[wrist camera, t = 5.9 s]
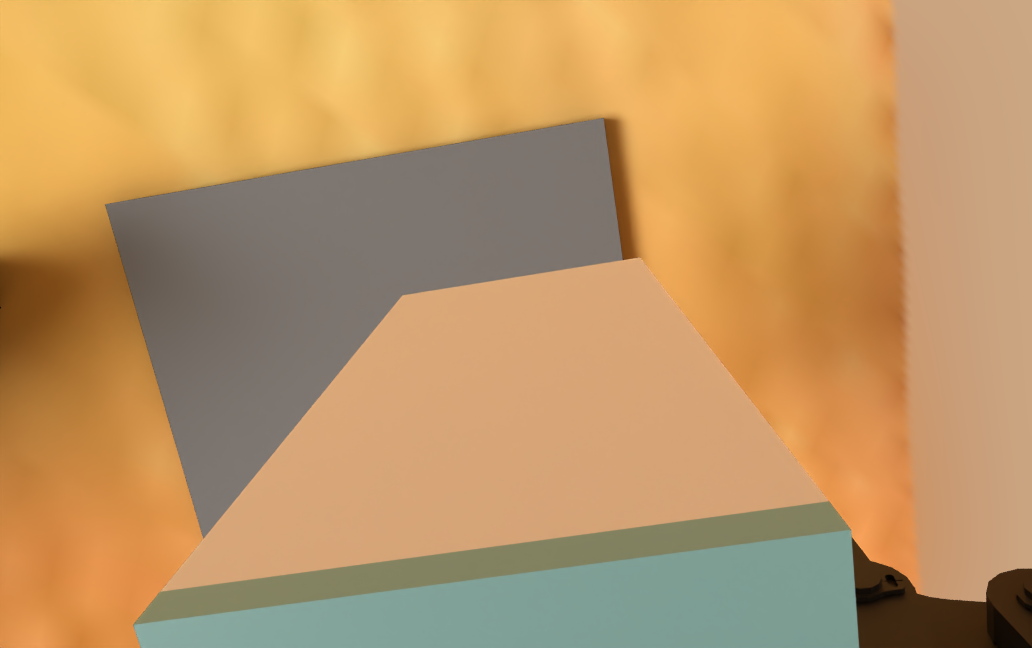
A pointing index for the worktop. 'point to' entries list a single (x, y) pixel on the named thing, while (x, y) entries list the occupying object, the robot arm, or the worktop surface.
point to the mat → (336, 274)
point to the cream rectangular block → (524, 493)
